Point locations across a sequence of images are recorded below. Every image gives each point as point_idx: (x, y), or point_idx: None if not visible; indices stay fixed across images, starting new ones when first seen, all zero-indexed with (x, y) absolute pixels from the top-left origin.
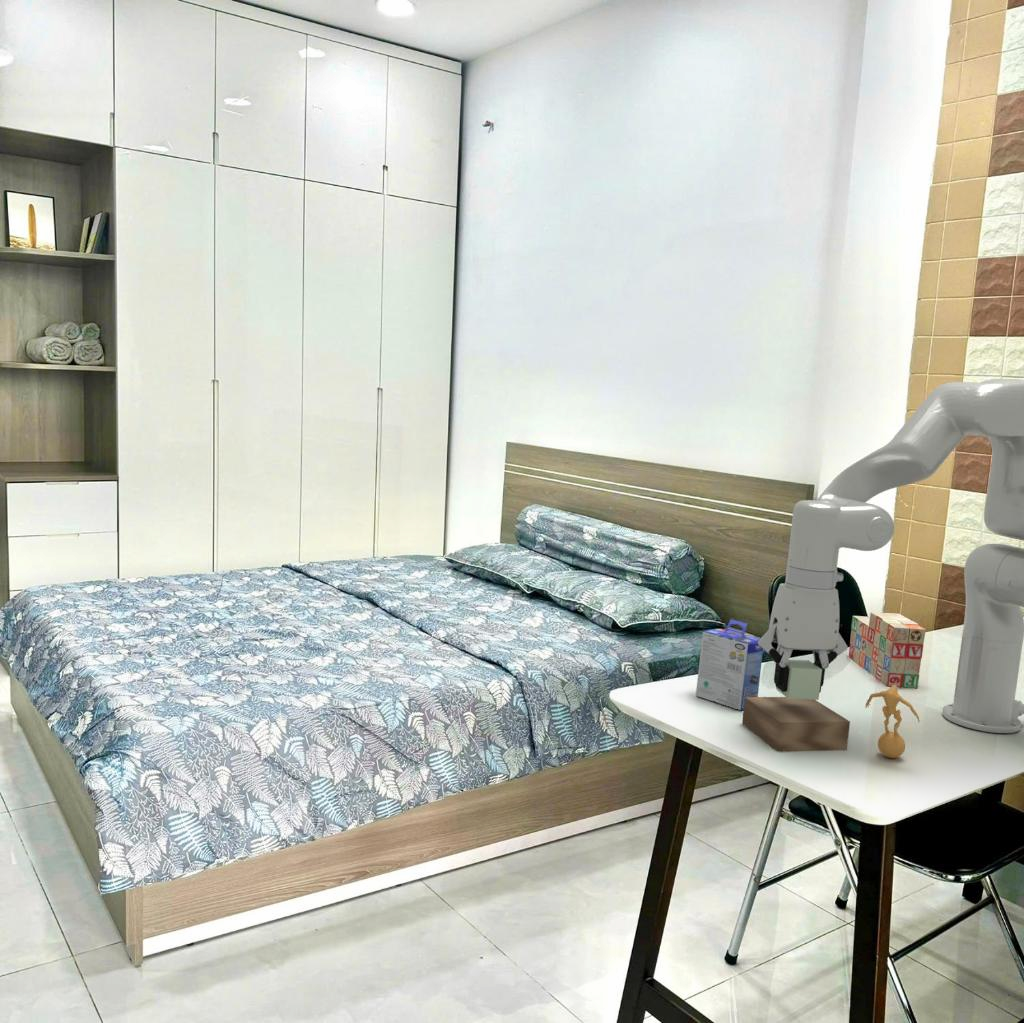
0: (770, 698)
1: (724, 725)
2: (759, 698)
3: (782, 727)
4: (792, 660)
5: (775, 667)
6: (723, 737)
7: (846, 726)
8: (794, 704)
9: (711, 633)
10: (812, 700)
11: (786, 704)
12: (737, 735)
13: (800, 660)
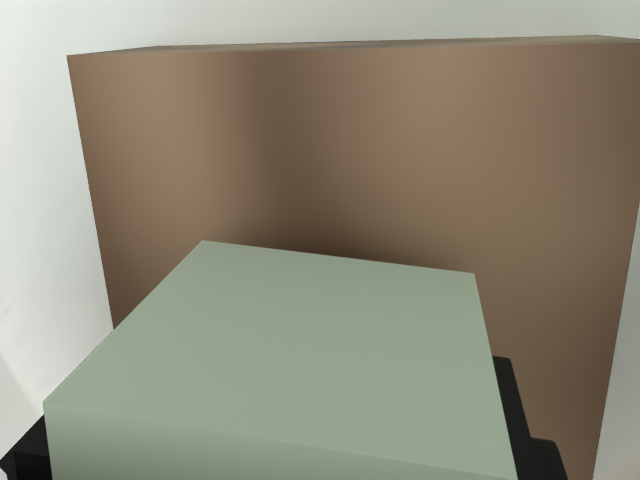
0: (258, 90)
1: (53, 64)
2: (169, 88)
3: None
4: (226, 466)
5: (5, 458)
6: (10, 226)
7: None
8: (386, 231)
9: None
10: (609, 149)
11: (322, 227)
12: (82, 207)
13: (364, 475)
